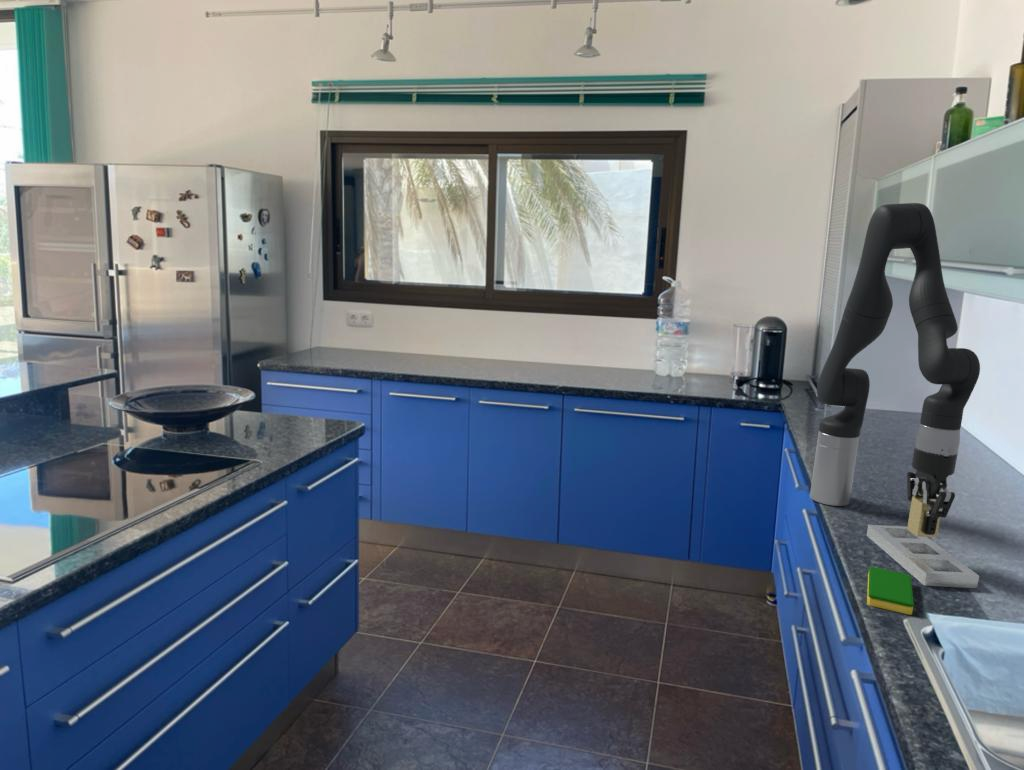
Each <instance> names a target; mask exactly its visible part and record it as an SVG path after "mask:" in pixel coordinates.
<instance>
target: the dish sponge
mask: <svg viewBox="0 0 1024 770" xmlns="http://www.w3.org/2000/svg"><path fill="white" fill-rule="evenodd" d="M866 605H867V606H870V607H875V608H880V609H883V610H889V611H892V612H895V613H896V612H897V613H901V614H905V615H913V610H914V605H915V604H914V593H913V585H912V574H910V573H905V572H904V573H903V572H898V571H894V570H889V569H885V568H880V567H875V566H869V567H868V574H867V597H866Z"/></svg>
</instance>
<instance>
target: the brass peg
mask: <svg viewBox="0 0 1024 770" xmlns="http://www.w3.org/2000/svg"><path fill="white" fill-rule="evenodd" d="M929 500H930V501H936V499H929ZM933 506H934V505H932V506H931V511H932V509H933ZM941 511H942V509H941ZM925 516H926V504H925V503H923V497H914V496H912V502H911V501H910V509H909V515H908V522H907V526H906V527H907V529H908V530H909V531H911V532H912V533H913V534H915V535H916V536H919V537H928V538H938V535H939V529H940V523H941V517H939V518H938V520H937V526H936V531H935V534H934V535H926V534H924V533H923V525H924V519H925Z"/></svg>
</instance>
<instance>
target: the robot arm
mask: <svg viewBox="0 0 1024 770" xmlns="http://www.w3.org/2000/svg"><path fill="white" fill-rule="evenodd" d="M935 224H936V223H935V220H934V217H933V214H932V211H931V210H930V209H929V207H928V206H927V205H926V204H925V203H924V204H923V203H919V202H908V203H892V204H891V203H889V204H883V205H880V206H879V207H877V208H876V209H875V210H874V211H873V213H872V215H871V217H870V219H869V222H868V226H867V229H866V233H865V238H864V243H863V247H862V251H861V256H860V261H859V264H858V269H857V272H856V275H855V277H854V278H855V279H854V281H853V285H852V288H851V290H850V294H849V296H848V299H847V301H846V304H845V307H844V310H843V313H842V317H841V321H840V324H839V327H838V331H837V333H836V336H835V338H834V339H835V340H834V343H833V345H832V348H831V349H830V352H829V354H828V356H827V359H826V361H825V363H824V365H823V368H822V369H821V370H822V371H821V373H820V376H819V379H818V380H817V386H816V395H817V399H818V401H819V402H820V403H821V404H823V405H827V406H837V407H844V408H843V409H842V410H841V411H839V412H837V413H835V414H833V415H829V416H826V417H824V418H822V419H821V420H820V422H819V427H818V434H817V441H816V449H815V455H814V463H813V469H812V470H813V471H812V478H811V484H810V493H809V498H810V499H811V500H813V501H815V502H817V503H821V504H822V505H823V504H824V505H826V506H827V505H829V506H836V507H843V506H848V505H849V504H850V502H851V501H850V500H851V497H852V496H851V495H852V488H853V483H854V477H855V476H854V475H855V470H856V469H855V468H856V463H857V455H858V450H859V441H860V435H861V429H862V426H863V424H864V419H865V413H866V408H867V403H868V399H869V393H870V384H871V383H870V377H869V374H868V372H867V371H866V370H864V369H861V368H848V365H849V364H850V362H851V361H852V359H854V358H855V356H857V355H858V354H859V353H860V352H862V351H863V350H864V349H865V348H867V347H868V346H870V345H871V344H872V343H874V342H875V340H877V339H878V338H879V337H880V336H881V334H882V333H883V332H884V330H885V328H886V326H887V323H888V321H889V318H890V316H891V312H892V310H893V305H894V302H893V301H894V300H893V295H892V292H891V289H890V285H889V283H888V281H887V278H886V277H887V276H886V267H887V266H886V265H887V263H888V259H889V256H890V254H891V252H892V251H893V250H902V249H910V251H911V253H912V255H913V258H914V261H915V272H914V278H913V281H912V284H911V288H910V291H909V297H908V304H909V306H908V307H909V311H910V314H911V318H912V321H913V323H914V326H915V330H916V332H917V352H918V353H917V355H918V357H917V359H918V360H917V361H918V367H919V371H920V373H921V375H922V377H923V378H924V379H925V380H926V381H927V382H929V383H930V384H933V385H941V386H940V388H939V390H938V391H937V392H935V393H933V394H930V395H928V396H926V397H925V399H924V400H923V404H922V408H921V409H922V410H921V414H920V422H919V426H918V429H917V431H916V436H915V441H914V448H913V454H912V461H911V467H912V468H913V470H915V472H914V471H908V472H907V473H906V477H907V478H906V482H907V483H906V484H907V488H906V489H907V490H906V491H907V492H906V493H907V501H908V502H910V503H911V502H912V496H914V497H923V503H925V504H926V516H925V519H924V525H923V533H924V534H926V535H934V534H935V531H936V526H937V520H938V518H939V517H940V518H944V519H945V518H947V516H948V513H949V511H950V509H951V507H952V505H953V502H954V500H955V497H956V494H955V491H949V490H948V483H947V482H948V481H947V479H948V477H950V476H952V475H954V474H955V470H956V464H957V459H958V454H959V447H960V441H961V427H962V422H963V415H964V409H965V406H966V405H967V403H968V401H969V399H970V397H971V395H972V393H973V391H974V389H975V386H976V385H977V383H978V380H979V377H980V371H981V364H980V363H981V362H980V360H979V356H978V355H977V354H976V353H975V352H974V351H973V350H971V349H968V348H964V347H962V348H961V347H959V348H958V347H957V348H956V347H951V348H949V347H948V343H947V341H948V339H949V338H952V337H953V336H954V335H956V334H957V332H958V328H959V327H958V322H957V319H956V317H955V313H954V311H953V308H952V305H951V302H950V300H949V299H950V298H949V296H948V294H947V290H946V289H947V288H946V286H945V282H944V275H943V271H942V263H941V254H940V250H939V248H940V247H939V244H938V243H939V241H938V237H937V236H938V235H937V229H936V225H935ZM929 499H935V500H936V501H930V500H929ZM932 505H934V506H933V509H932V511H931V506H932ZM941 509H942V511H941Z"/></svg>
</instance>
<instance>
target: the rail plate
mask: <svg viewBox="0 0 1024 770" xmlns="http://www.w3.org/2000/svg"><path fill="white" fill-rule="evenodd" d="M866 537H868V538H869V539H870V540H871V541H872V542H873V541H874V542H873V543H875V544H876V546H878V547H879V548H880V549H881V550H882V551H884V552H885V553H887V555H889V556H890V557H891V558H892V560H894V561H896V563H898V564H899V565H900V566H901V567H902V568H903V569H905V570H906V571H907V572H908V574H909V575H911V576H913V577H914V578H915V579H916V580H918V582H920V584H922V585H923V586H924V587H925V586H926V587H927V586H928V587H945V588H947V587H948V588H949V587H950V588H966V589H978V586H979V579H980V575H979V574H978V573H976V572H974V571H973V570H972V569H971V568H969V567H968V566H967V565H966V564H964V563H963V562H961V561H960V560H959V559H958V558H956V557H954V555H952V554H951V553H950V552H948V551H946V550H945V549H944V548H943V547H941V546H939V545H938V544H937V543H936V542H934V541H933V540H932V539H930V537H919V536H916V535H915V534H913V533H912V532H911V531H909V530H908V529H907V526H902V525H901V526H899V525H882V524H881V525H880V524H879V525H878V524H868V525H867V531H866Z"/></svg>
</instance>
